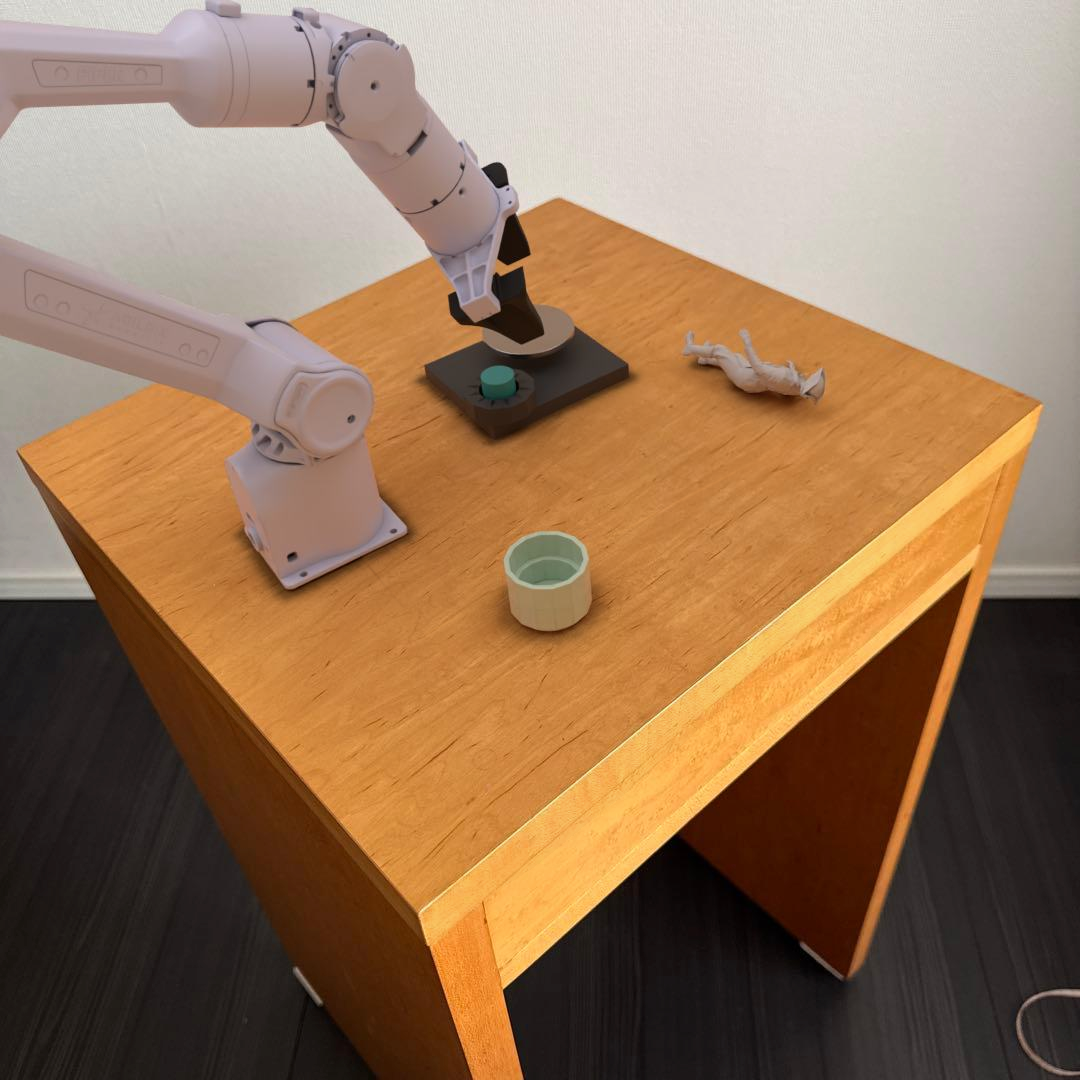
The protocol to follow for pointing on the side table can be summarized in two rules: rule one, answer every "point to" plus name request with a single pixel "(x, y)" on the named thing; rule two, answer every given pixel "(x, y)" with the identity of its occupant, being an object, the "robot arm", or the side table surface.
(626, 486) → the side table surface
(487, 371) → the tare button
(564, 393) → the scale
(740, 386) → the soldier figure
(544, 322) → the scale plate
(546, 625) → the pale green cup
